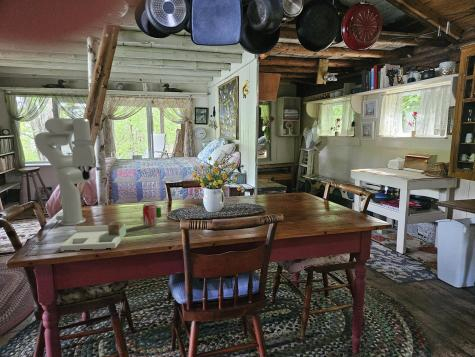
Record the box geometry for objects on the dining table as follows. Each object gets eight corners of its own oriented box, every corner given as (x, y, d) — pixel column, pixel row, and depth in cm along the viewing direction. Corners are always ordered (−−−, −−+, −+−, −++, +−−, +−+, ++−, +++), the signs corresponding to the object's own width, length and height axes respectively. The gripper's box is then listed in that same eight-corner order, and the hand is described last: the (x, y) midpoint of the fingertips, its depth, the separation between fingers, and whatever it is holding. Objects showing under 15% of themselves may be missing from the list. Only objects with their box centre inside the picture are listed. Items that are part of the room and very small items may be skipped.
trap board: (60, 251, 133) (59, 240, 132) (78, 236, 151) (77, 226, 150) (115, 248, 135) (114, 237, 134) (126, 233, 154) (125, 224, 153)
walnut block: (108, 235, 144) (107, 225, 144) (112, 231, 149) (111, 222, 148) (119, 234, 145) (118, 224, 144) (122, 231, 150) (121, 221, 149)
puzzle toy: (159, 214, 188) (158, 205, 187) (161, 217, 182) (160, 207, 182) (149, 215, 185) (148, 206, 184) (151, 218, 180) (150, 208, 179)
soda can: (145, 223, 170) (143, 202, 168) (158, 222, 171) (156, 202, 169) (142, 227, 163) (140, 205, 161) (155, 226, 164) (154, 205, 162)
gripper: (64, 144, 149) (68, 181, 152) (95, 143, 151) (99, 180, 154) (70, 143, 156) (74, 178, 159) (100, 142, 158) (103, 177, 161)
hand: (86, 179), depth 156 cm, fingers closed
